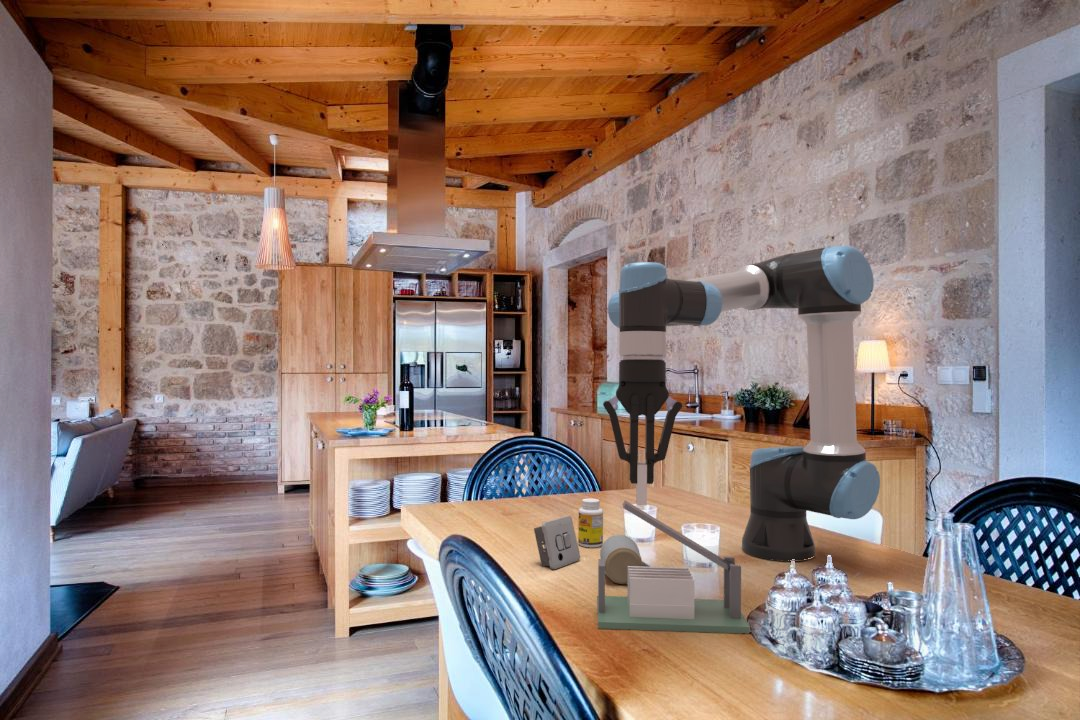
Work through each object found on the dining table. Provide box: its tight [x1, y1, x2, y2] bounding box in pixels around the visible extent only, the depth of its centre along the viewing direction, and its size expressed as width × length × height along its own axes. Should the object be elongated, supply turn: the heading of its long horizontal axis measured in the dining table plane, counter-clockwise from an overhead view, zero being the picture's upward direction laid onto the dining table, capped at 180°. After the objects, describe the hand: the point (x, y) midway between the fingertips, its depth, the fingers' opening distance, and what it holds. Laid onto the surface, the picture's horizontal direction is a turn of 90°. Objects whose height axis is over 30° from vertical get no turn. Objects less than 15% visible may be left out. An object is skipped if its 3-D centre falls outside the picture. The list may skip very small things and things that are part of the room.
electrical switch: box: [533, 515, 581, 570], centre depth 138 cm, size 9×5×9 cm, turn 141°
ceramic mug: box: [599, 534, 652, 585], centre depth 128 cm, size 11×8×8 cm
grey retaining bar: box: [621, 500, 736, 574], centre depth 109 cm, size 21×3×2 cm
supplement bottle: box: [577, 497, 604, 549], centre depth 152 cm, size 6×6×10 cm
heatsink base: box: [596, 556, 751, 635], centre depth 109 cm, size 23×12×9 cm, turn 86°
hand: (641, 503), depth 109 cm, fingers closed
